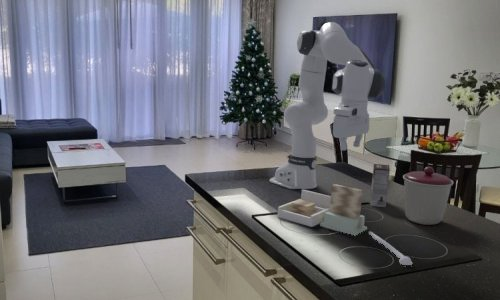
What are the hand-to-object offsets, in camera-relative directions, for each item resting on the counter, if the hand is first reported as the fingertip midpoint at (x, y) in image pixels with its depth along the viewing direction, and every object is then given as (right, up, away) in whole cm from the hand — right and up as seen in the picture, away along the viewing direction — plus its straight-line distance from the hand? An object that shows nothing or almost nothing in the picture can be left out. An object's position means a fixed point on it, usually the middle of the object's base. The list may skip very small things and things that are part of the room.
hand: (350, 148), depth 177 cm
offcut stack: (-15, -26, +13) cm, 33 cm away
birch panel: (-1, -27, +5) cm, 28 cm away
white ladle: (+9, -33, -12) cm, 36 cm away
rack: (-14, -26, +15) cm, 33 cm away
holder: (-1, -28, +5) cm, 29 cm away
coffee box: (+19, -23, +37) cm, 48 cm away
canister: (+31, -28, +18) cm, 45 cm away
